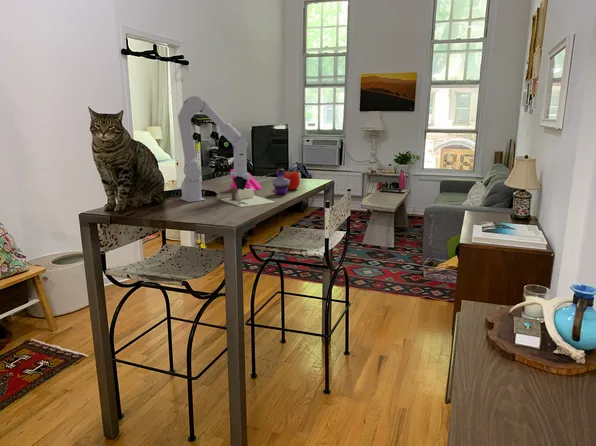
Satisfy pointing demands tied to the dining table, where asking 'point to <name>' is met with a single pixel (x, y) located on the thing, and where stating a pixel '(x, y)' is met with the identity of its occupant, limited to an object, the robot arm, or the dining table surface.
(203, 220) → the dining table surface
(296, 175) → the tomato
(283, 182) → the potion bottle
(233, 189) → the fence post
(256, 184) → the bracket
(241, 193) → the fence panel
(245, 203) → the card
